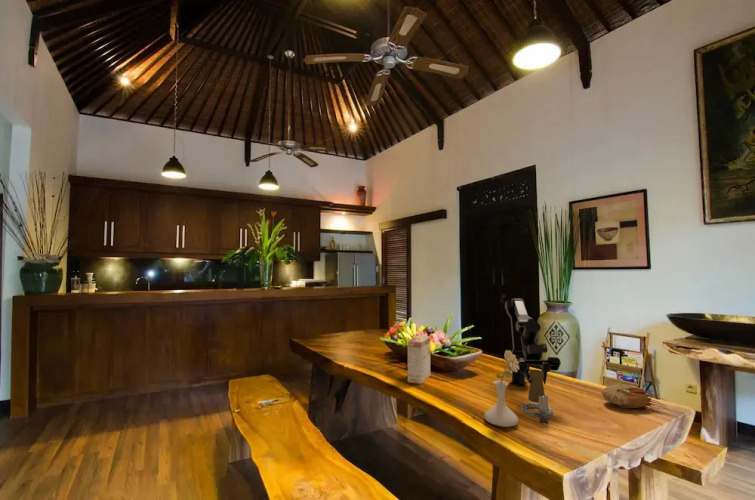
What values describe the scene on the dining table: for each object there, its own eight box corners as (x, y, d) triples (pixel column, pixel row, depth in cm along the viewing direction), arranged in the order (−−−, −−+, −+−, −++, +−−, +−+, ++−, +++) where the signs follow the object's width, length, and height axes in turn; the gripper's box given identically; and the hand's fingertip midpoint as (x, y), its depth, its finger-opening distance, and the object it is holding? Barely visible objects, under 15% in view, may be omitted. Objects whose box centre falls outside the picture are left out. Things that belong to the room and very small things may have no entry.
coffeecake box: (417, 373, 184) (417, 334, 185) (431, 375, 181) (430, 336, 182) (406, 382, 171) (406, 340, 172) (421, 384, 168) (421, 341, 169)
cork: (547, 399, 137) (547, 370, 137) (542, 404, 132) (542, 373, 133) (531, 395, 141) (531, 367, 141) (525, 400, 136) (525, 370, 137)
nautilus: (668, 410, 140) (668, 425, 128) (603, 394, 154) (598, 406, 142) (669, 389, 140) (670, 403, 128) (604, 375, 153) (599, 386, 142)
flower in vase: (500, 432, 119) (499, 355, 120) (477, 419, 129) (476, 348, 131) (529, 426, 124) (528, 352, 125) (505, 413, 135) (505, 345, 136)
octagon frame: (519, 405, 142) (519, 382, 143) (547, 407, 140) (547, 384, 141) (529, 422, 127) (528, 396, 127) (560, 425, 125) (560, 398, 125)
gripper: (508, 334, 143) (514, 371, 132) (558, 336, 140) (569, 374, 129) (504, 349, 150) (510, 385, 139) (552, 351, 147) (562, 388, 136)
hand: (537, 383), depth 136 cm, fingers closed on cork, 5 cm apart
